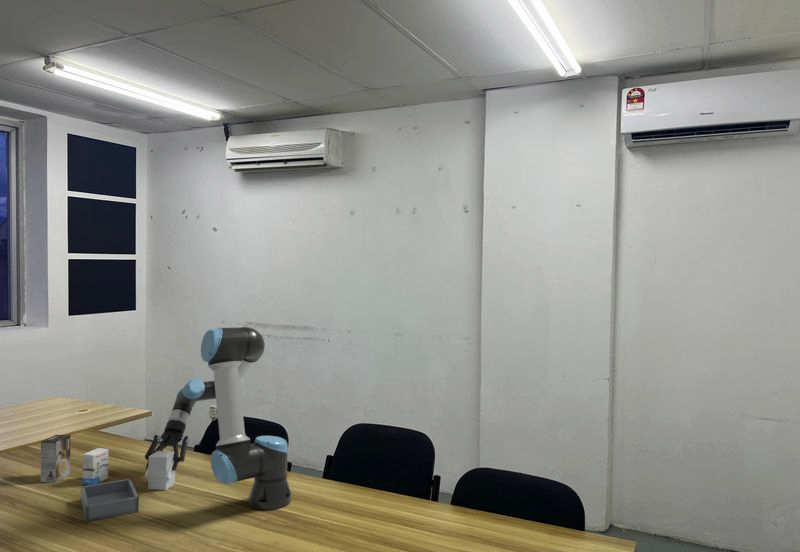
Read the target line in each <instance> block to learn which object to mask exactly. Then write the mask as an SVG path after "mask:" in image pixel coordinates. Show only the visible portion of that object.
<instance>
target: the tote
mask: <svg viewBox="0 0 800 552" xmlns="http://www.w3.org/2000/svg"><path fill="white" fill-rule="evenodd" d="M139 501H140V498H139V495H138V493H137V491H136V487H135V485H134V484H133V482H132V479H131V478H126V479H119V480H113V481H108V482H100V483H97V484H95V485H85V486H84V485H83V486H81V488H80V503H81V508H82V512H83V518H84V522H85V523H89V522H93V521H97V520H98V521H99V520H103V519H109V518H113V517H118V516H119V517H120V516H124V515H128V514H133V513H138V512H139V509H140V508H139V506H140V505H139V503H140V502H139Z"/></svg>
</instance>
